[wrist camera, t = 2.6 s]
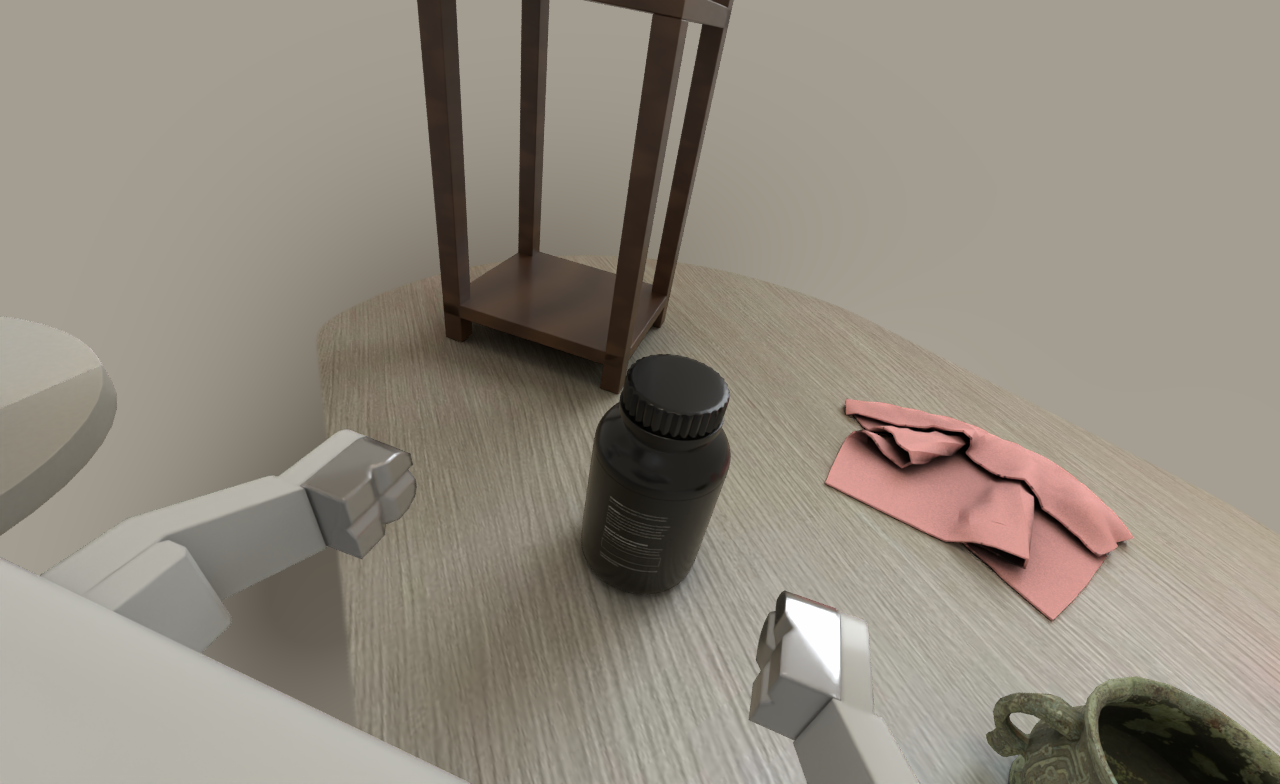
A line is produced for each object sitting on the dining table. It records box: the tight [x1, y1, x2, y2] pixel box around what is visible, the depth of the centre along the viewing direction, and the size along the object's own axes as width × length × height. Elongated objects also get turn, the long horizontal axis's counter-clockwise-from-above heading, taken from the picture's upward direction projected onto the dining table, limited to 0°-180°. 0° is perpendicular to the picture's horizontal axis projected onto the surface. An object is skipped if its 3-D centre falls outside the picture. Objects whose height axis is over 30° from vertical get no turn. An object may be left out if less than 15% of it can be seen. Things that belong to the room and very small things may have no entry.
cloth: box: [825, 399, 1133, 621], centre depth 38 cm, size 20×22×2 cm
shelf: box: [417, 0, 734, 394], centre depth 34 cm, size 16×14×44 cm
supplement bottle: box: [581, 354, 731, 594], centre depth 26 cm, size 7×7×12 cm
